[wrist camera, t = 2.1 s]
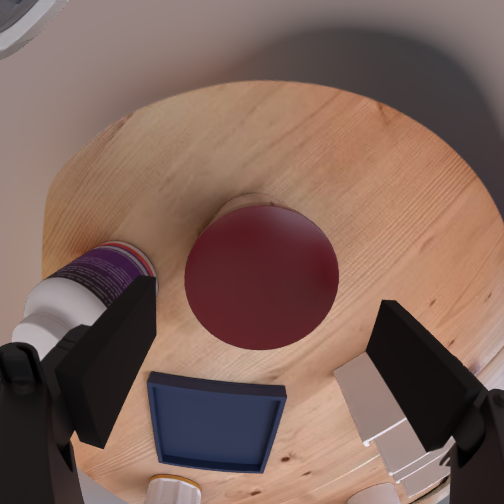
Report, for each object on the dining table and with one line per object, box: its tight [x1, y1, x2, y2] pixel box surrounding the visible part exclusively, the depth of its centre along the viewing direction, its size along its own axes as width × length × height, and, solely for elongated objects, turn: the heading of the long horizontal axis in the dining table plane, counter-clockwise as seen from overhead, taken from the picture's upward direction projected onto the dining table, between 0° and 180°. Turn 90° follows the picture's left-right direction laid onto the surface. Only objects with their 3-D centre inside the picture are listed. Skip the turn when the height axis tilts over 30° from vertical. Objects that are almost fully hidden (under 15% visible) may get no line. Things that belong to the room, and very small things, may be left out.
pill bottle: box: [12, 241, 158, 361], centre depth 20 cm, size 8×8×14 cm
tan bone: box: [412, 474, 450, 504], centre depth 45 cm, size 9×20×2 cm, turn 154°
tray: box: [147, 371, 287, 473], centre depth 31 cm, size 17×15×2 cm
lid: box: [185, 201, 339, 350], centre depth 16 cm, size 8×8×2 cm
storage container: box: [333, 351, 456, 498], centre depth 27 cm, size 25×11×11 cm, turn 33°
